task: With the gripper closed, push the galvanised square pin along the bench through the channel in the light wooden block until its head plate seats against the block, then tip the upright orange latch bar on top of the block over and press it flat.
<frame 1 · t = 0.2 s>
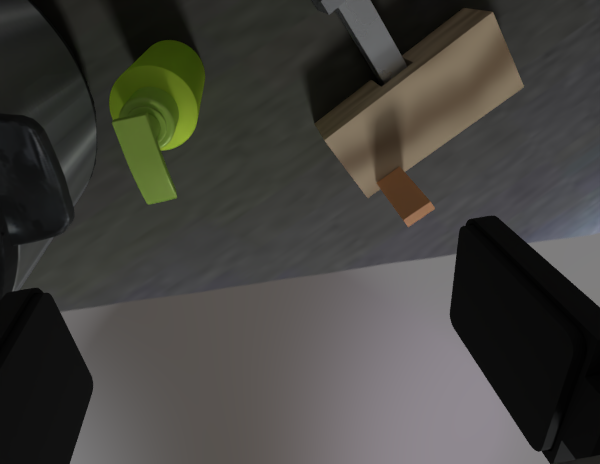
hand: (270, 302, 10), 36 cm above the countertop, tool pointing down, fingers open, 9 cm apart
lynch pin: (386, 59, 41), point 3 cm above the countertop, slide at 0.0 cm
soap dispenser: (175, 78, 42), on the countertop
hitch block: (404, 99, 46), on the countertop
latch: (403, 195, 41), point 9 cm above the countertop, hinge at 95.0°
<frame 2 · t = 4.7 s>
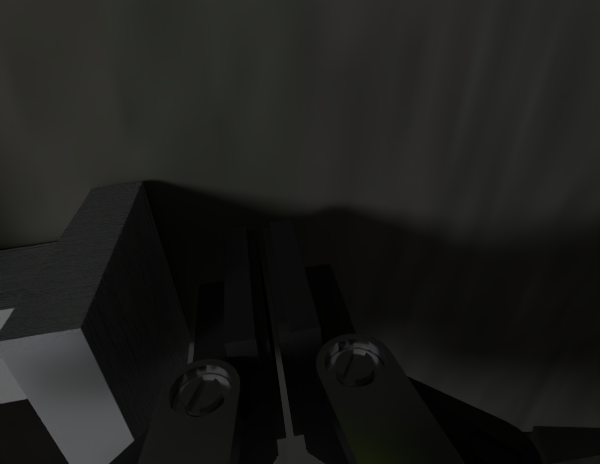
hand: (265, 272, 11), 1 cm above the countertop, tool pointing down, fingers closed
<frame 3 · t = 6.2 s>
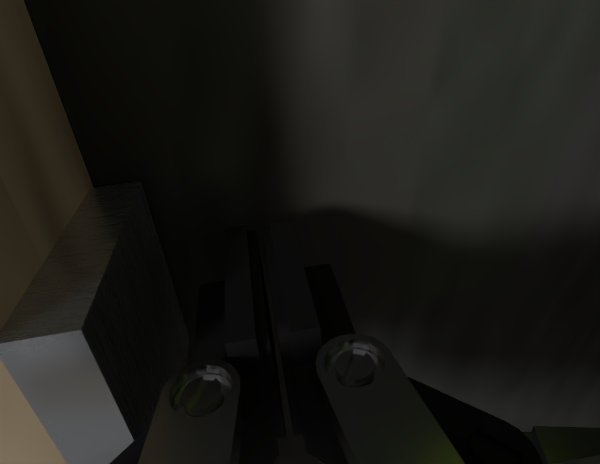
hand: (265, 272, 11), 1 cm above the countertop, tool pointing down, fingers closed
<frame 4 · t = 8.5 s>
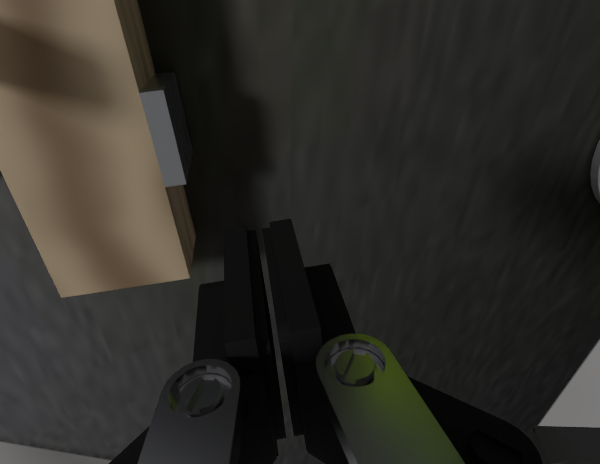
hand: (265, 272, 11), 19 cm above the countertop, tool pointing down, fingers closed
lynch pin: (37, 143, 25), point 3 cm above the countertop, slide at 8.5 cm
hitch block: (102, 123, 27), on the countertop
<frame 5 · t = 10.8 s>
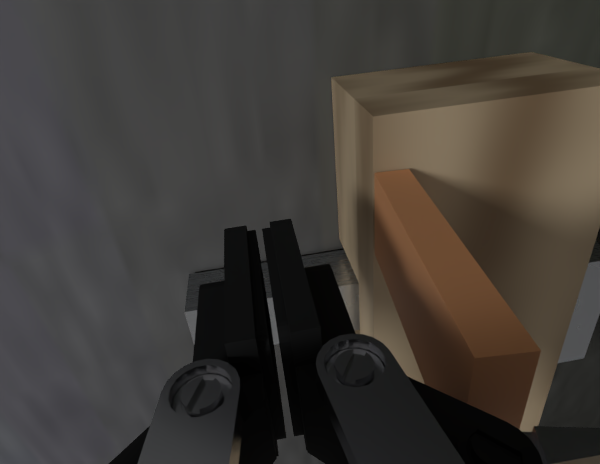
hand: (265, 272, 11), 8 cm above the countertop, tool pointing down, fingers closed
lynch pin: (380, 303, 19), point 3 cm above the countertop, slide at 8.5 cm
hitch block: (420, 257, 21), on the countertop
latch: (427, 284, 10), point 9 cm above the countertop, hinge at 94.7°, touching gripper
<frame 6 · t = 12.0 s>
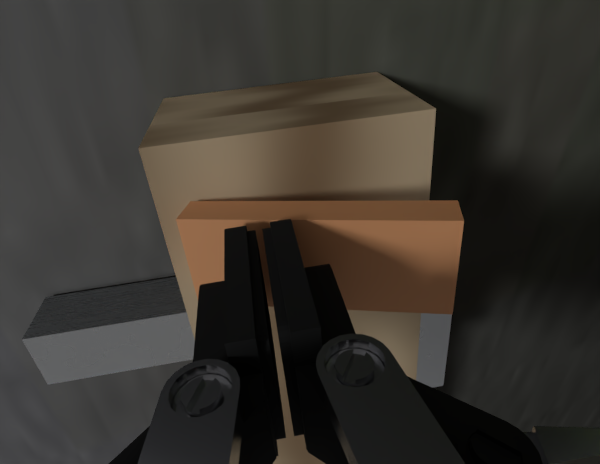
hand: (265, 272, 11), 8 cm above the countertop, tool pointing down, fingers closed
lynch pin: (236, 328, 18), point 3 cm above the countertop, slide at 8.5 cm
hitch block: (295, 278, 21), on the countertop
latch: (317, 256, 12), point 7 cm above the countertop, hinge at 17.8°
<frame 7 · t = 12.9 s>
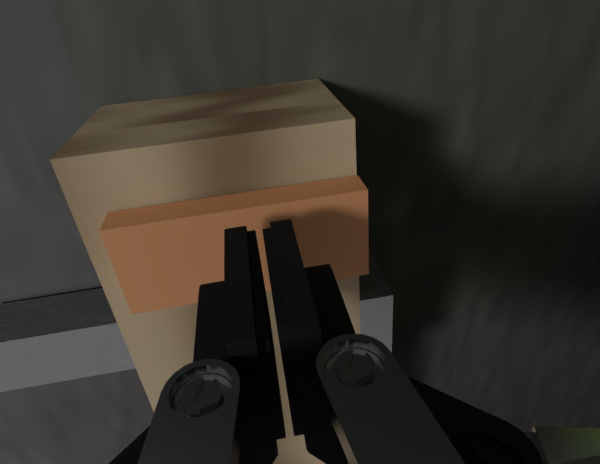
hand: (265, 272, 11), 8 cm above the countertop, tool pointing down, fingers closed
lynch pin: (182, 336, 18), point 3 cm above the countertop, slide at 8.5 cm
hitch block: (248, 284, 21), on the countertop
latch: (244, 244, 12), point 6 cm above the countertop, hinge at -0.3°
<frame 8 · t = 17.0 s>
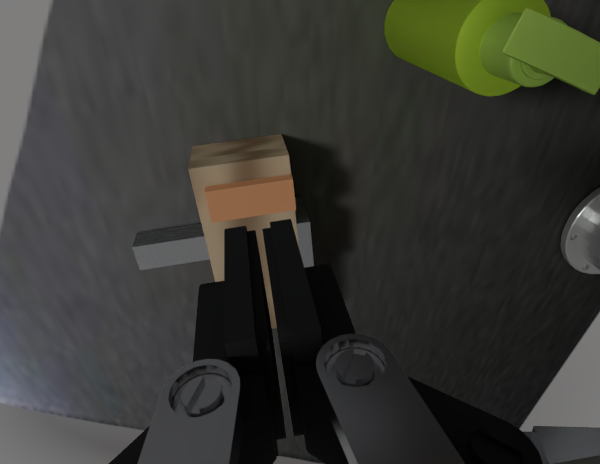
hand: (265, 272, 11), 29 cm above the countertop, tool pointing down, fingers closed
lynch pin: (223, 245, 41), point 3 cm above the countertop, slide at 8.5 cm
soap dispenser: (412, 21, 36), on the countertop
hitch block: (252, 226, 44), on the countertop
latch: (251, 198, 35), point 6 cm above the countertop, hinge at -0.3°
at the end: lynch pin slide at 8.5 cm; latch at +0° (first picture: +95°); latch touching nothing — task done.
